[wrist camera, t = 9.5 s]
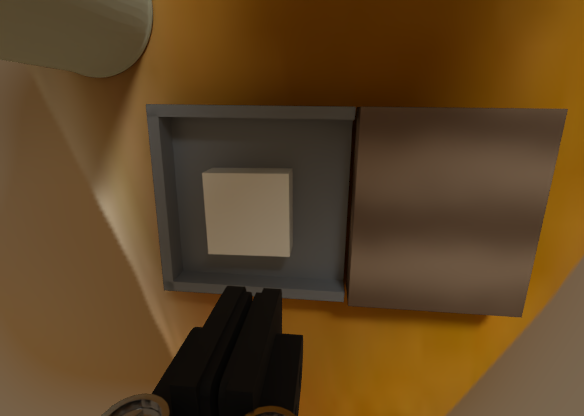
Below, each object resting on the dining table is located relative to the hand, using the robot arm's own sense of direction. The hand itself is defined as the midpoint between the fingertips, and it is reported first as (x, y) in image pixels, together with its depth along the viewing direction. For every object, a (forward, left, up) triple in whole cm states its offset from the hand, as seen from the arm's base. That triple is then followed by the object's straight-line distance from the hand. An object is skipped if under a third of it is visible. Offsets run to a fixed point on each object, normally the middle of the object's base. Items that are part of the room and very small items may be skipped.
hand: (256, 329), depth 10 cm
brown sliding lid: (0, +10, -17) cm, 19 cm away
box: (0, -3, -17) cm, 17 cm away
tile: (+1, -4, -14) cm, 14 cm away
